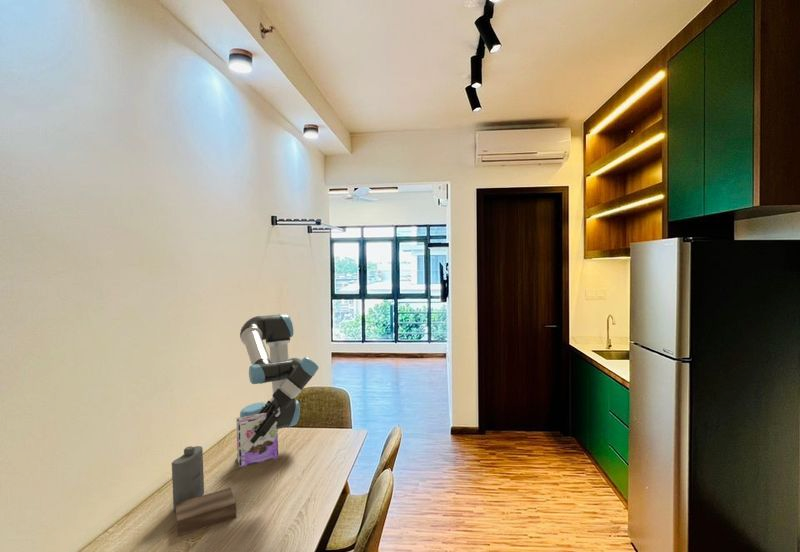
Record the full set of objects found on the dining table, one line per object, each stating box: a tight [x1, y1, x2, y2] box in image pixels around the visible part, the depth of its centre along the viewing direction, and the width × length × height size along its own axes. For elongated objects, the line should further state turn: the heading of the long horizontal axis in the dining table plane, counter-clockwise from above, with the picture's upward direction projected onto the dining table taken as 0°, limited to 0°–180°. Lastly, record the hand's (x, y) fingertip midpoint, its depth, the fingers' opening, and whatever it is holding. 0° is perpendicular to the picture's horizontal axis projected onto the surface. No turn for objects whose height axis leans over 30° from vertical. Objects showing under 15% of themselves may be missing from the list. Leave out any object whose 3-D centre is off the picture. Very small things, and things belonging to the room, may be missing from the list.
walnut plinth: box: [175, 487, 237, 537], centre depth 141 cm, size 12×18×5 cm, turn 121°
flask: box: [171, 445, 205, 513], centre depth 152 cm, size 15×6×20 cm, turn 176°
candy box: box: [236, 413, 279, 468], centre depth 150 cm, size 14×6×16 cm, turn 119°
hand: (243, 446), depth 147 cm, fingers closed on candy box, 6 cm apart
